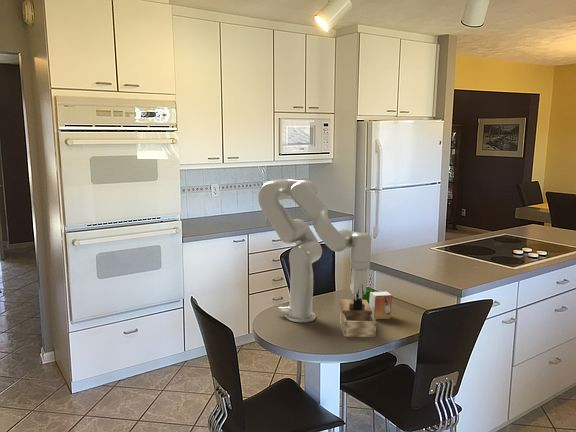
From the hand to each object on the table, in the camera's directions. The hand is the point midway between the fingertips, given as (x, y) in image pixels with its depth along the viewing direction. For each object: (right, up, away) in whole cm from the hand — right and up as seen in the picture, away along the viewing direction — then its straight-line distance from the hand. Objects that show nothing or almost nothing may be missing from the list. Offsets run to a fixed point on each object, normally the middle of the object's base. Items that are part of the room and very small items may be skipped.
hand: (357, 309), depth 191 cm
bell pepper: (+8, -4, +30) cm, 31 cm away
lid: (0, -1, +8) cm, 8 cm away
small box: (+12, -6, +15) cm, 20 cm away
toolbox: (0, -8, 0) cm, 8 cm away
